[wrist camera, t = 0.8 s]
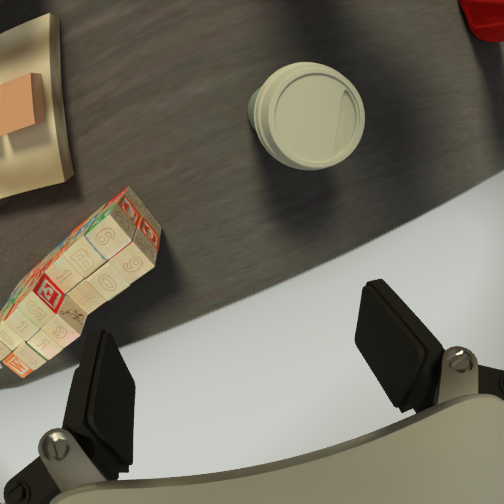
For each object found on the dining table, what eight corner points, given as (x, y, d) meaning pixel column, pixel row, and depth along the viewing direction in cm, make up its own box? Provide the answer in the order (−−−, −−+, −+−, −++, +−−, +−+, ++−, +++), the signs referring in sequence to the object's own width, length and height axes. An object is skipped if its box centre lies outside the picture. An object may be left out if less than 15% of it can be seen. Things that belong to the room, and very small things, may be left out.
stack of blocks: (128, 183, 31) (101, 227, 20) (163, 226, 34) (155, 288, 24) (18, 283, 33) (-20, 344, 22) (49, 314, 36) (21, 380, 25)
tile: (2, 88, 20) (-10, 89, 18) (41, 73, 21) (30, 72, 19) (7, 134, 23) (-5, 138, 20) (45, 121, 23) (35, 123, 21)
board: (-35, 61, 19) (-49, 61, 16) (60, 18, 21) (49, 12, 18) (-18, 199, 27) (-30, 208, 24) (74, 174, 29) (64, 181, 27)
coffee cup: (279, 164, 34) (323, 198, 23) (216, 117, 30) (233, 126, 19) (327, 107, 31) (390, 116, 21) (268, 56, 28) (312, 36, 17)
